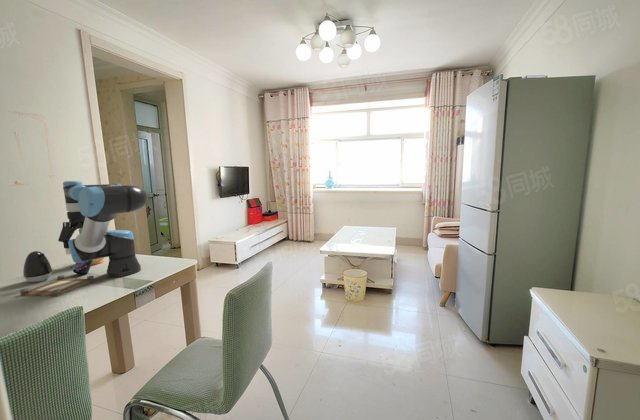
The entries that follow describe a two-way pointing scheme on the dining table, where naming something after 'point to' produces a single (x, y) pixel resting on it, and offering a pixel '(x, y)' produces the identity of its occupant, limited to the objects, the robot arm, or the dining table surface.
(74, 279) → the wooden tray
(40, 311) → the dining table surface
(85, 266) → the supplement container
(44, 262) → the black egg-shaped dome
